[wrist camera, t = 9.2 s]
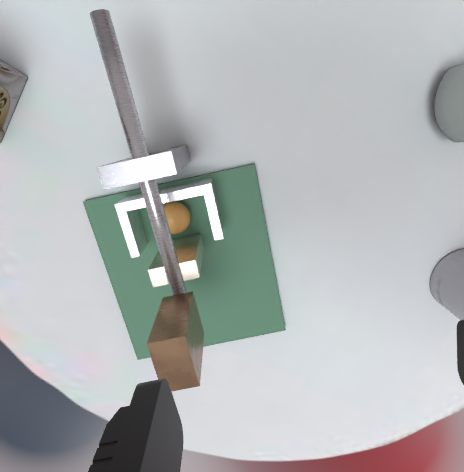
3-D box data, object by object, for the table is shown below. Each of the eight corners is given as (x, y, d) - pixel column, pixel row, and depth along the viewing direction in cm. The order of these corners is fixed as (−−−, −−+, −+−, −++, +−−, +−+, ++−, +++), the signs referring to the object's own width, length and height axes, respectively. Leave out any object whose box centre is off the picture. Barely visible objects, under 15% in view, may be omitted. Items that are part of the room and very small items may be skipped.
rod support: (186, 144, 42) (171, 151, 29) (190, 160, 43) (177, 174, 30) (134, 156, 42) (96, 167, 29) (139, 172, 43) (104, 190, 30)
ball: (187, 219, 39) (195, 236, 43) (184, 191, 41) (191, 209, 45) (153, 227, 39) (164, 242, 43) (152, 198, 41) (162, 216, 45)
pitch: (253, 163, 43) (254, 164, 42) (284, 326, 50) (285, 330, 49) (85, 200, 44) (82, 201, 43) (139, 355, 51) (137, 359, 50)
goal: (212, 177, 43) (210, 183, 38) (223, 227, 44) (223, 238, 40) (126, 196, 43) (114, 204, 38) (141, 244, 45) (131, 257, 40)
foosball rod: (151, 36, 37) (89, -47, 20) (214, 288, 46) (210, 383, 29) (107, 46, 38) (7, -27, 20) (178, 295, 47) (152, 395, 29)
